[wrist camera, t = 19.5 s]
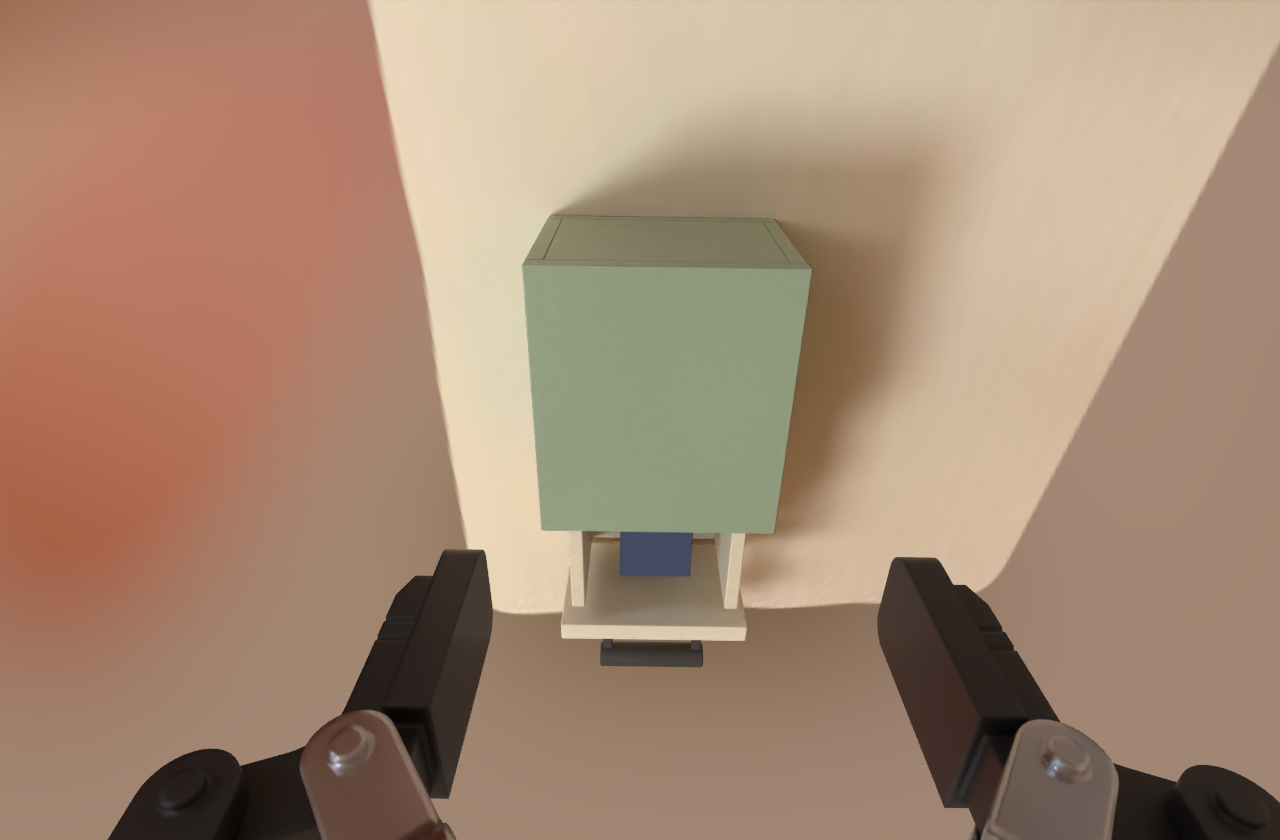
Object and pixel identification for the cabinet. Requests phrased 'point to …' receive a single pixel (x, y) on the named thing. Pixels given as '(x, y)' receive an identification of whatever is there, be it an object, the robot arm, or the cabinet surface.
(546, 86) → the cabinet surface
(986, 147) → the cabinet surface
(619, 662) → the drawer
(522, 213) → the cabinet surface
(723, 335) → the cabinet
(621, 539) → the block
